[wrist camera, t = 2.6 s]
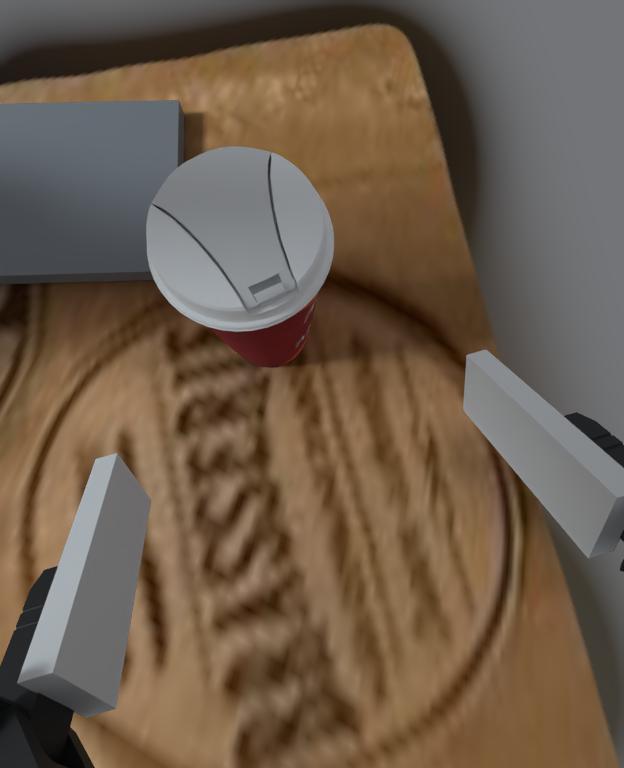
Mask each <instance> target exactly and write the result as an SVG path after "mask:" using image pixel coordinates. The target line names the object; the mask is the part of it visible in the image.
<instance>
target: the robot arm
mask: <svg viewBox="0 0 624 768" xmlns="http://www.w3.org/2000/svg"><path fill="white" fill-rule="evenodd" d="M463 410H464V412H465V413H466V414H467V415H468V416H469V418H470V419H471V420H472V421H473V422H474V424H475V425H476V426H477V427H478V428H479V429H480V431H481V432H482V433H483V434H484V435H485V437H486V438H487V439H488V440H489V441H490V443H491V444H492V445H493V446H494V447H495V448H496V450H497V451H498V452H499V453H500V454H501V456H502V457H503V458H504V459H505V460H506V462H507V463H508V464H509V465H510V466H511V467H512V469H513V470H514V471H515V472H516V473H517V475H518V476H519V477H520V478H521V479H522V481H523V482H524V483H525V484H526V485H527V486H528V488H529V489H530V490H531V491H532V492H533V494H534V495H535V496H536V497H537V498H538V500H539V501H540V502H541V503H542V504H543V505H544V507H545V508H546V509H547V510H548V511H549V513H550V514H551V515H552V516H553V517H554V519H555V520H556V521H557V522H558V523H559V524H560V526H561V527H562V528H563V529H564V530H565V532H566V533H567V534H568V535H569V536H570V537H571V539H572V540H573V541H574V542H575V543H576V545H577V546H578V547H579V548H580V549H581V550H582V552H583V553H584V554H585V555H586V557H587V558H592V557H595V556H598V555H601V554H604V553H607V552H611V551H614V549H615V547H616V545H617V544H618V542H619V540H620V538H621V539H622V540H623V541H624V445H623V443H622V442H621V441H620V440H618V439H617V438H616V437H615V436H611V434H610V432H608V431H607V430H606V429H604V428H603V427H602V426H601V425H600V424H598V423H597V422H596V421H594V420H592V419H589V418H588V417H585V416H583V415H581V414H579V413H573V414H569V415H566V416H563V415H562V414H560V413H559V412H558V411H557V410H556V409H555V408H553V407H552V406H551V405H550V404H549V403H548V402H546V401H545V400H544V399H543V398H542V397H541V396H540V395H538V394H537V393H536V392H535V391H534V390H533V389H531V388H530V387H529V386H528V385H527V384H526V383H524V382H523V381H522V380H521V379H520V378H519V377H517V376H516V375H515V374H514V373H513V372H512V371H511V370H509V369H508V368H507V367H506V366H505V365H504V364H502V363H501V362H500V361H499V360H498V359H497V358H495V357H494V356H493V355H492V354H491V353H490V352H488V351H487V350H482V351H479V352H475V353H471V354H468V355H467V358H466V373H465V388H464V404H463ZM150 505H151V499H150V498H149V496H148V495H147V494H146V492H145V491H144V489H143V488H142V487H141V485H140V484H139V483H138V481H137V480H136V478H135V477H134V476H133V474H132V473H131V471H130V470H129V469H128V467H127V466H126V465H125V463H124V462H123V460H122V459H121V458H120V456H119V455H118V453H116V454H112V455H109V456H105V457H102V458H98V459H96V460H95V463H94V466H93V468H92V471H91V474H90V477H89V480H88V483H87V485H86V488H85V491H84V494H83V497H82V500H81V503H80V505H79V508H78V511H77V514H76V517H75V520H74V522H73V525H72V528H71V531H70V534H69V537H68V539H67V542H66V545H65V548H64V551H63V554H62V556H61V559H60V562H59V565H58V566H56V567H53V568H50V569H46V570H44V571H43V573H42V574H41V576H40V577H39V578H38V580H37V581H36V583H35V584H34V585H33V587H32V588H31V590H30V592H29V595H28V597H27V600H26V602H25V605H24V607H23V613H22V614H21V615H20V618H19V620H18V623H17V625H16V628H17V629H16V630H15V631H14V633H13V635H12V638H11V640H10V643H9V645H8V648H7V651H6V653H5V656H4V658H3V661H2V663H1V666H0V768H95V767H94V766H93V764H92V762H91V760H90V758H89V756H88V754H87V752H86V751H85V749H84V747H83V745H82V743H81V741H80V739H79V738H78V736H77V734H76V732H75V731H74V730H73V729H72V728H71V727H70V725H71V721H72V717H73V712H76V713H78V714H80V715H82V716H84V717H86V718H87V717H90V716H93V715H97V714H100V713H103V712H106V711H109V710H112V709H116V705H117V699H118V693H119V687H120V681H121V675H122V670H123V664H124V658H125V652H126V646H127V640H128V634H129V628H130V622H131V617H132V611H133V605H134V599H135V593H136V587H137V581H138V575H139V569H140V564H141V558H142V552H143V546H144V540H145V534H146V528H147V522H148V516H149V510H150ZM620 570H621V571H624V560H623V562H622V563H621V568H620Z"/></svg>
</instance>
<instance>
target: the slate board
mask: <svg viewBox="0 0 624 768" xmlns="http://www.w3.org/2000/svg"><path fill="white" fill-rule="evenodd" d="M184 118H185V115H184V113H183V110H182V107H181V105H180V102H179V100H165V101H116V102H68V103H20V104H0V284H32V283H66V282H100V281H134V280H154V279H153V276H152V273H151V270H150V267H149V263H148V257H147V238H146V223H147V217H148V211H149V208H150V205H151V204H152V201H153V199H154V198H155V196H156V194H157V193H158V191H159V189H160V188H161V186H162V185H163V183H164V182H165V181H166V179H167V178H168V176H169V175H170V174H171V173H172V172H173V171H174V170H175V169H176V168H178V167H179V166H181V165H182V164H183V163H184ZM152 205H153V204H152Z"/></svg>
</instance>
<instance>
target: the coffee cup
mask: <svg viewBox="0 0 624 768" xmlns="http://www.w3.org/2000/svg"><path fill="white" fill-rule="evenodd" d="M152 204H153V205H152ZM152 204H151V205H150V208H149V211H148V217H147V223H146V238H147V257H148V263H149V267H150V270H151V273H152V276H153V279H154V281H155V283H156V284H157V286H158V288H159V290H160V291H161V293H162V294H163V295H164V297H165V298H166V299H167V300H168V301H169V303H170V304H171V305H173V306H174V307H175V308H176V309H177V310H178V311H179V312H180V313H182V314H183V315H185V316H187V317H188V318H190V319H191V320H193V321H195V322H197V323H200V324H202V325H204V326H207V327H208V328H210V329H211V330H212V331H213V332H214V333H215V334H216V335H217V336H219V337H220V338H221V339H222V340H223V341H224V342H225V343H226V344H228V345H229V346H230V347H231V348H232V349H233V350H235V351H236V352H237V353H238V354H239V355H241V356H242V357H243V358H244V359H246V360H247V361H249V362H251V363H253V364H255V365H258V366H262V367H278V366H281V365H284V364H286V363H288V362H290V361H292V360H293V359H294V358H295V357H296V356H297V355H298V354H299V353H300V352H301V351H302V349H303V347H304V345H305V343H306V340H307V337H308V334H309V330H310V326H311V321H312V317H313V312H314V308H315V303H316V298H317V294H318V291H319V290H320V288H321V287H322V285H323V284H324V282H325V279H326V277H327V275H328V273H329V270H330V267H331V263H332V259H333V252H334V232H333V226H332V222H331V218H330V215H329V213H328V211H327V208H326V206H325V204H324V202H323V201H322V199H321V198H320V196H319V194H318V193H317V192H316V190H315V189H314V187H313V186H312V184H311V182H310V181H309V179H308V178H307V177H306V176H305V175H304V174H303V173H302V172H301V171H300V170H299V169H298V168H297V167H296V166H294V165H293V164H292V163H291V162H289V161H288V160H286V159H285V158H283V157H281V156H279V155H278V154H275V153H273V152H272V155H271V153H270V152H269V151H264V150H259V149H254V148H247V147H223V148H218V149H213V150H211V151H208V152H205V153H202V154H200V155H198V156H196V157H194V158H192V159H190V160H188V161H186V162H185V163H183V164H182V165H181V166H179V167H178V168H176V169H175V170H174V171H173V172H172V173H171V174H170V175H169V176H168V178H167V179H166V181H165V182H164V183H163V185H162V186H161V188H160V189H159V191H158V193H157V194H156V196H155V198H154V199H153V201H152Z"/></svg>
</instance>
